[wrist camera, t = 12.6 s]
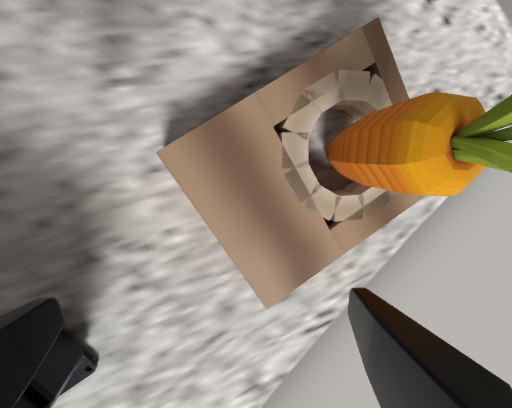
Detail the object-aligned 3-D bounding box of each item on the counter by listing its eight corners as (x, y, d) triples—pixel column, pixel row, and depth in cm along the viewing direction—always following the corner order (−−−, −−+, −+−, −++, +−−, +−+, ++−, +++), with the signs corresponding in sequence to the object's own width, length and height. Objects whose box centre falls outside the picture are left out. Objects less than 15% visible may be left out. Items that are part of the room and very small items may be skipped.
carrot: (295, 134, 20) (532, 67, 6) (347, 116, 21) (679, 13, 6) (311, 189, 21) (541, 252, 7) (360, 170, 22) (663, 191, 7)
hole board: (258, 289, 22) (266, 309, 19) (163, 154, 18) (155, 152, 15) (411, 181, 23) (441, 184, 20) (352, 38, 20) (378, 17, 17)
